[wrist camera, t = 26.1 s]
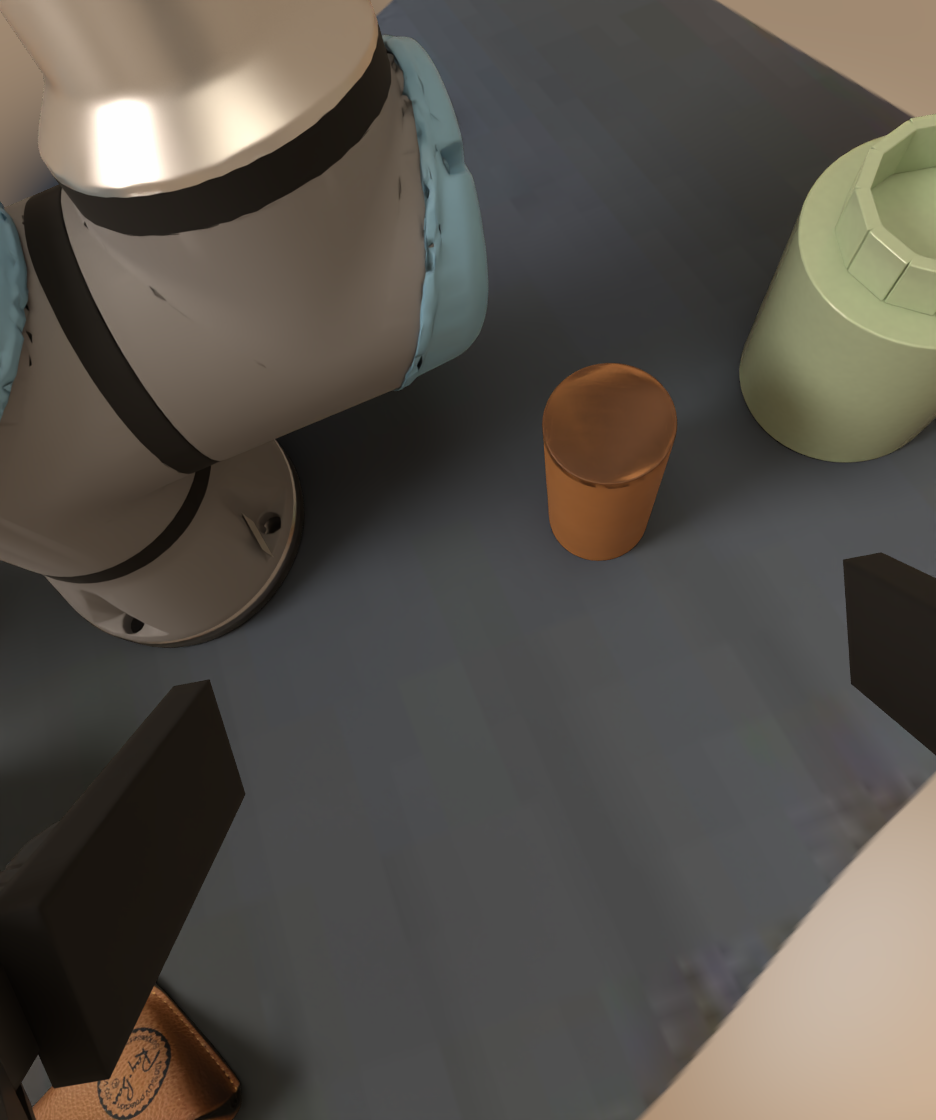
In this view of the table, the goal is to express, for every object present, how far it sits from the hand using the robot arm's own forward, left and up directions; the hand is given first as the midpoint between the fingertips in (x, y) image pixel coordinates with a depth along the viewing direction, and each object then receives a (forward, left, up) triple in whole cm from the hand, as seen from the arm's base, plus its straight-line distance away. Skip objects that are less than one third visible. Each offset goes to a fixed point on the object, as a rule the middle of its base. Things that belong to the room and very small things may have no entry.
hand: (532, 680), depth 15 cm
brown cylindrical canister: (-8, +10, -26) cm, 29 cm away
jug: (-6, +27, -26) cm, 38 cm away
